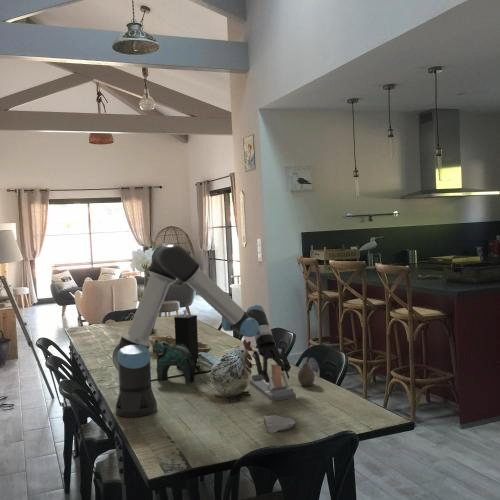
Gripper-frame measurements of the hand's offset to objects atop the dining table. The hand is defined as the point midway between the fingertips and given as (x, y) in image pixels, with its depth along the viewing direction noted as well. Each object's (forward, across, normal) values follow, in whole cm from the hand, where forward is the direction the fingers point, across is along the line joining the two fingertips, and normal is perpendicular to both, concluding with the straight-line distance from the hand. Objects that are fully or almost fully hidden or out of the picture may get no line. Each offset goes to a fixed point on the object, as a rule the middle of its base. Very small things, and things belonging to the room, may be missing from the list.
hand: (280, 387), depth 215 cm
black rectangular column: (-40, +23, -46) cm, 65 cm away
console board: (-4, 0, -9) cm, 10 cm away
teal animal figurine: (-26, +33, -32) cm, 53 cm away
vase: (-4, -16, -10) cm, 19 cm away
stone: (+23, +12, +17) cm, 30 cm away
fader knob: (-1, 0, -4) cm, 4 cm away
